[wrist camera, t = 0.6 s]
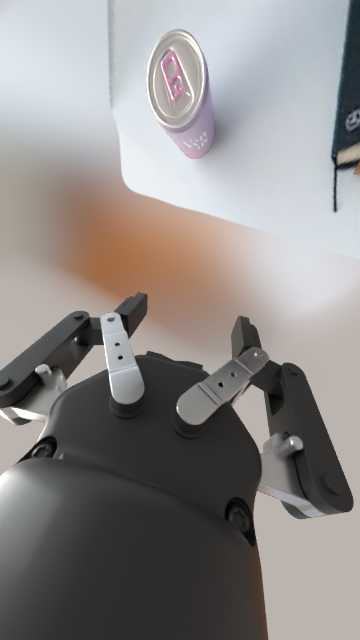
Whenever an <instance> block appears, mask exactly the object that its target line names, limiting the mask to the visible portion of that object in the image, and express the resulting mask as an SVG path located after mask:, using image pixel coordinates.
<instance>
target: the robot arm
mask: <svg viewBox="0 0 360 640" xmlns="http://www.w3.org/2000/svg"><path fill="white" fill-rule="evenodd" d="M147 298H148V297H147V294H144V293H140V292H138V293H137V294H136V295H135V296H134V297H133V296H131V297H129V298H127V299H126V300H125V301H124V302H123V303H122V304H121V305H120V306H119V307H118V308H117V309H116V310H115V311H114V312H109V313H105V314H103V315H102V316H101V317H100V318H92V317H91V318H90V317H89V314H88V313H87V312H85V311H76V312H73V313H71V314H69V315H68V316H67V317H66V318H64V319H63V320H62V321H61V322H59V323H58V324H57V325H56V326H55V327H53V328H52V329H51V330H50V331H48V332H47V333H46V334H45V335H44V336H42V337H41V338H40V339H39V340H38V341H36V342H35V343H34V344H32V345H31V346H30V347H29V348H28V349H26V350H25V351H24V352H23V353H21V354H20V355H19V356H18V357H17V358H15V359H14V360H13V361H12V362H10V363H9V364H8V365H7V366H6V367H4V368H3V369H2V370H1V371H0V414H1V415H2V416H3V417H5V418H7V419H8V420H9V421H10V422H12V423H13V424H14V425H23V424H26V423H29V422H31V421H32V420H34V421H39V422H43V423H46V424H45V427H44V429H43V432H42V434H41V435H40V437H39V439H38V441H37V442H36V444H35V445H34V446H33V448H32V449H31V450H30V451H29V452H28V453H27V454H26V455H25V456H24V457H23V458H21V459H20V460H19V461H18V462H17V463H16V464H14V465H13V466H12V467H11V468H9V469H8V470H7V471H6V472H5V473H3V474H2V475H1V477H0V640H268V632H267V623H266V612H265V602H264V593H263V583H262V572H261V564H260V558H259V552H258V546H257V541H256V536H255V529H254V521H253V510H254V501H255V496H256V492H257V491H260V492H262V493H265V494H267V495H270V496H272V497H275V498H277V499H280V500H281V502H282V504H283V506H284V507H285V509H286V510H287V511H288V512H289V513H290V514H291V515H292V516H294V517H295V518H297V519H306V518H312V517H318V516H324V515H331V514H337V513H344V512H349V511H351V510H352V508H353V496H352V493H351V490H350V488H349V486H348V483H347V480H346V478H345V475H344V473H343V470H342V468H341V465H340V463H339V460H338V457H337V455H336V452H335V450H334V447H333V445H332V442H331V440H330V437H329V435H328V432H327V430H326V427H325V424H324V422H323V420H322V417H321V415H320V412H319V409H318V407H317V404H316V402H315V399H314V397H313V394H312V391H311V389H310V386H309V384H308V382H307V380H306V376H305V374H304V372H303V371H302V370H301V369H300V368H299V367H298V366H296V365H294V364H292V363H283V365H282V366H281V365H279V364H277V363H275V362H273V361H271V360H269V356H268V354H267V353H266V352H265V351H264V350H262V348H261V344H260V339H259V335H258V331H257V329H256V328H255V326H254V325H251V324H250V322H249V318H247V317H243V316H239V317H238V319H237V321H236V323H235V326H234V328H233V331H232V335H231V341H232V359H231V360H230V361H229V362H227V363H226V364H225V365H223V366H222V367H221V368H219V369H218V370H217V371H216V372H214V373H213V374H212V375H210V374H208V373H207V372H206V371H204V370H202V367H203V365H200V364H197V363H193V362H189V361H174V360H171V359H170V358H168V357H165V356H163V355H162V354H158V353H155V352H151V351H147V354H146V355H137V356H134V354H133V351H132V348H131V345H130V342H129V339H130V337H131V336H132V334H133V333H134V331H135V330H136V329H137V327H138V326H139V324H140V322H141V321H142V320H143V318H144V317H145V315H146V313H147ZM94 345H104V347H105V353H106V359H107V365H108V369H106V370H104V371H102V372H100V373H98V374H96V375H94V376H92V377H90V378H88V379H86V380H84V381H82V382H80V383H78V384H76V385H74V386H72V387H70V388H69V389H67V390H66V387H67V382H66V380H67V379H68V377H69V376H70V375H71V374H72V372H73V371H74V370H75V368H76V367H77V366H78V365H79V364H80V362H81V361H82V360H83V359H84V357H85V356H86V355H87V354H88V352H89V351H90V350H91V349H92V347H93V346H94ZM251 385H254V386H256V387H258V388H260V389H261V390H263V391H264V397H265V404H266V411H267V418H268V426H269V433H270V438H269V439H268V440H267V441H266V442H265V443H264V445H263V454H260V453H259V450H258V447H257V445H256V444H255V441H254V440H253V438H252V437H251V435H250V433H249V432H248V430H247V429H246V427H245V426H244V424H243V423H242V421H241V420H240V418H239V417H238V415H237V413H236V412H235V410H234V409H233V407H232V406H233V405H234V404H235V403H236V401H237V400H238V399H239V398H240V397H241V396H242V395H243V394H244V393H245V392H246V391H247V389H248V388H249V387H250V386H251ZM65 390H66V391H65Z"/></svg>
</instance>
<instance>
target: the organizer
mask: <svg viewBox="0 0 360 640" xmlns="http://www.w3.org/2000/svg"><path fill="white" fill-rule="evenodd" d="M353 174H360V162H359V164H358V166H357V167H356V169H355V171H354V173H353Z"/></svg>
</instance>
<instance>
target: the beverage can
mask: <svg viewBox="0 0 360 640" xmlns="http://www.w3.org/2000/svg"><path fill="white" fill-rule="evenodd" d="M147 90H148V96H149V101H150V104H151V107H152V110H153V113H154V115H155V117H156V119H157V121H158V122H159V124H160V125H161V126H162V128H163V129H164V130H165V131H166V132H167V134H168V135H169V136H170V137H171V139H172V140H173V141H174V142H175V143H176V145H177V146H178V147H179V148H180V150H181V151H182V152H183V153H184V154H185V155H186V156H187V157H188V158H191V159H198V158H201V157H202V156H204V155H205V154H206V153H207V152H208V150H209V149H210V147H211V145H212V142H213V139H214V134H215V125H214V116H213V108H212V100H211V92H210V84H209V76H208V68H207V63H206V60H205V57H204V54H203V52H202V50H201V48H200V46H199V44H198V43H197V41H196V40H195V38H194V37H193V36H192V35H191V34H190V33H188V32H187V31H185V30H181V29H175V30H171V31H169V32H167V33H166V34H165V35H164V36H163V37H162V38H161V39H160V40H159V41H158V43H157V44H156V46H155V48H154V50H153V52H152V55H151V58H150V61H149V66H148V73H147Z"/></svg>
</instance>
